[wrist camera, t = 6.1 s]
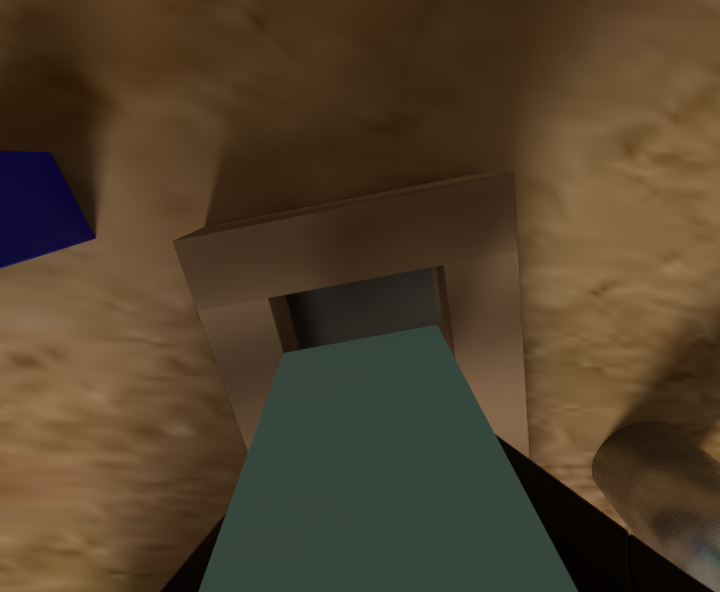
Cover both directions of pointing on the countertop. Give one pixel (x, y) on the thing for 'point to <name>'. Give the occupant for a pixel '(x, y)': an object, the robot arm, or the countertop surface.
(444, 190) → the socket board
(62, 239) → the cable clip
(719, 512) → the round peg
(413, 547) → the square peg
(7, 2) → the countertop surface
